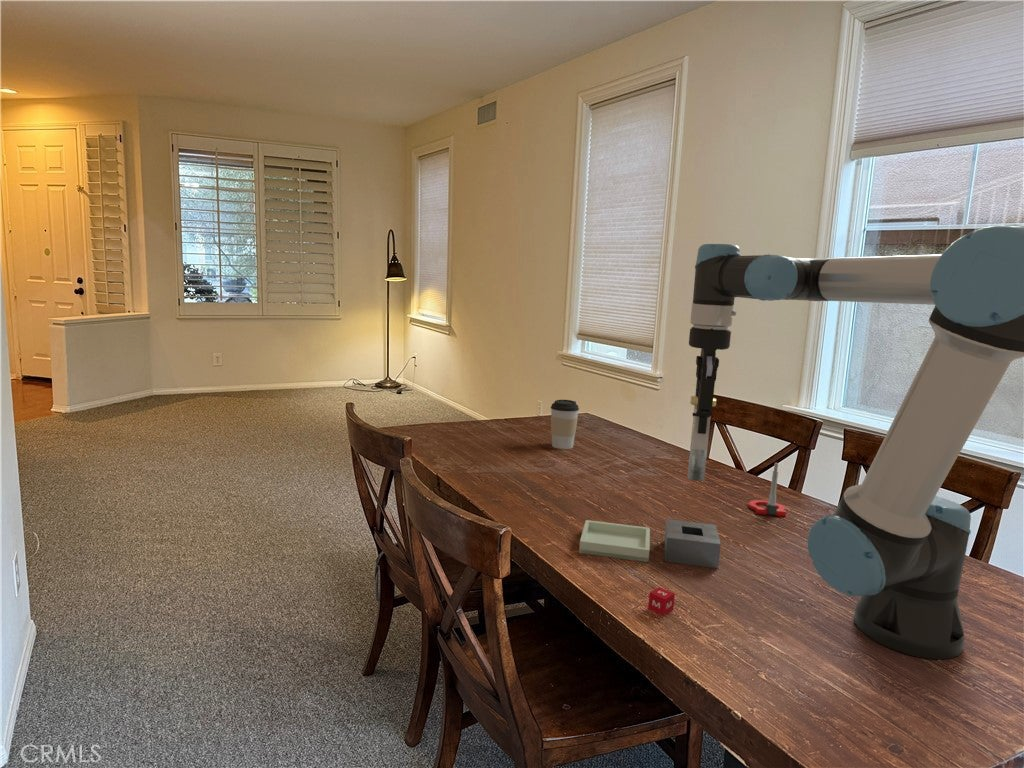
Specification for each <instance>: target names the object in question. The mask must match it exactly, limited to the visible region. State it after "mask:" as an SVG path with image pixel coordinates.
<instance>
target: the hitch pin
mask: <svg viewBox="0 0 1024 768" xmlns="http://www.w3.org/2000/svg"><path fill="white" fill-rule="evenodd" d="M690 405H692V406H693V407H694V408H693V413H696V412H697V405H698V396H695V395H692V396H690ZM716 406H717V398H715V397H713V404H712V408H715V407H716ZM710 418H712V415H711V416H710ZM694 425H695V416H693V415H692V427H691V437H690V447H689V448H690V449H689V458H688V459H689V460H688V468H687V469H688V470H687V478H688V480H690V481H695V482H696V481H697V482H702V481H704V480H705V476H706V475H705V474H706V465H707V455H708V449H707V450H700V449H692V445H693V435H694ZM709 428H710V425H709ZM709 435H710V434H709ZM709 435H708V438H709ZM708 445H709V444H708ZM708 445H707V448H708Z"/></svg>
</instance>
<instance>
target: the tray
mask: <svg viewBox="0 0 1024 768" xmlns="http://www.w3.org/2000/svg"><path fill="white" fill-rule="evenodd" d="M650 534H651V527H648V526H637V525H631V524H621V523H613V522H605V521H597V520H590V519H589V520H588V519H585V523H584V525H583V528H582V532H581V537H580V540H579V549H578V553H579V554H585V555H590V556H591V555H593V556H600V557H607V558H615V559H621V560H622V559H623V560H630V561H637V562H645V563H649V560H650V559H649V558H650V549H651V548H650V544H651V543H650V542H651V541H650V540H651V539H650V538H651V537H650V536H651V535H650Z"/></svg>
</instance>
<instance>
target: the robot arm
mask: <svg viewBox="0 0 1024 768" xmlns="http://www.w3.org/2000/svg"><path fill="white" fill-rule="evenodd" d="M694 269H695V272H694V281H693V282H694V285H693V292H692V293H693V297H692V304H691V312H690V321H689V322H690V324H691V325H693V326H692V327H691V328H689V336H688V345H689V347H691V348H696V349H700V355H696V358H695V359H696V360H695V365H696V372H695V377H696V383H695V395H694V396H698V405H697V412H696V413H694V412H692V417H693V416H695V425H694V435H693V445H692V449H700V450H707V451H708V447H707V445H709V437H708V435H710V427H709V425H710V424H711V417H712V415H713V407H712V404H713V398H714V396H715V395H714V393H715V387H716V386H715V385H716V384H715V383H716V381H717V376H718V375H717V374H718V368H719V366H720V359H719V357H717V355H716V352H717V351H718V350H721V351H724V350H728V349H729V348H730V345H731V338H732V337H731V335H732V331H731V329H729V327H731V326H732V324H733V316H736V315H737V311H736V310H734V305H735V298H741V299H742V298H744V299H750V300H759V301H763V302H765V301H781V300H783V301H784V300H787V301H788V300H789V301H790V300H791V301H810V302H850V303H851V302H852V303H879V304H880V303H881V304H905V305H909V304H910V305H930V306H931V305H932V306H933V305H935V306H934V307H933V310H932V312H931V314H930V316H929V318H928V322H929V325H930V327H931V328H932V330H933V332H934V338H933V341H932V342H931V344H930V347H929V348H928V351H927V353H926V355H925V356H924V358H923V361H922V362H921V363H920V366H919V368H918V371H917V372H916V374H915V375H914V376H915V377H914V378H913V381H912V382H911V385H910V386H909V388H908V391H907V392H906V394H905V396H904V399H903V400H902V403H901V404H900V407H899V408H898V410H897V413H896V415H895V416H894V419H893V421H892V422H891V424H890V426H889V428H888V431H887V433H886V434H885V437H884V438H883V440H882V443H881V444H880V446H879V448H878V450H877V452H876V455H874V456H875V457H874V458H873V460H872V463H871V465H870V466H869V469H868V471H867V472H866V475H865V476H864V479H863V480H862V483H861V484H856V485H851V486H849V487H847V488H846V489H845V491H844V492H843V494H842V497H841V499H840V501H839V502H838V505H837V506H836V509H835V510H834V512H833V514H829V515H823V516H822V517H821V518H819V519H818V520H816V521H815V522H814V523H813V524H812V525H811V527H810V529H809V531H808V535H807V550H808V555H809V557H810V558H811V560H812V565H813V567H814V569H815V571H816V572H817V574H818V575H819V577H820V578H822V580H823V582H825V583H826V584H827V585H828V586H830V587H831V588H832V589H834V590H835V591H837V592H838V593H841V594H843V595H845V596H848V597H849V596H851V597H859V600H857V603H856V605H855V609H854V610H855V611H854V616H853V619H854V624H855V625H856V626H857V628H858V629H859V630H860V631H861V632H862V633H864V634H865V635H866V636H867V637H868V638H870V639H871V640H874V641H875V642H877V643H879V644H881V646H882V645H883V646H884V647H887V648H889V649H892V650H894V651H897V652H899V653H903V654H906V655H910V656H912V657H913V656H914V657H918V658H923V659H931V660H948V659H952V658H957V657H958V656H959V655H961V654H962V653H963V648H964V644H965V631H964V625H963V622H962V617H961V616H962V615H961V612H960V607H959V603H958V598H959V591H960V585H961V580H962V574H963V569H964V563H965V558H966V553H967V549H968V548H967V547H968V542H969V537H970V535H971V532H972V530H971V529H970V528H971V520H972V517H971V513H970V510H968V508H966V507H964V505H962V504H960V503H957V502H955V501H952V500H950V499H948V498H947V499H946V498H944V497H940V496H937V494H938V492H939V490H940V489H941V487H942V485H943V483H944V482H945V480H946V478H947V477H948V475H949V473H950V471H951V469H952V468H953V465H954V464H955V462H956V460H957V458H958V457H959V455H960V454H961V451H962V450H963V448H964V446H965V444H966V442H967V441H968V439H969V437H970V436H971V434H972V432H973V430H974V429H975V427H976V425H977V423H978V422H979V420H980V418H981V416H982V414H983V413H984V411H985V410H986V408H987V405H988V403H989V402H990V401H991V398H992V397H993V395H994V393H995V391H996V389H997V388H998V386H999V385H1000V383H1001V380H1002V378H1003V377H1004V375H1005V373H1006V371H1008V368H1009V366H1010V364H1011V363H1012V362H1013V361H1015V360H1017V359H1021V358H1024V225H1021V224H1005V225H993V226H986V227H982V228H978V229H975V230H973V231H971V232H969V233H966V234H964V235H962V236H961V237H960V238H957V239H956V240H954V242H952V243H951V244H950V245H949V246H948V247H947V248H946V249H945V250H944V251H943V253H940V254H916V255H914V254H913V255H892V256H891V255H888V256H887V255H885V256H859V257H855V256H853V257H832V258H831V257H825V258H824V257H823V258H819V257H818V258H803V257H802V258H801V257H789V256H784V255H777V254H770V253H769V254H759V255H758V254H756V255H740V247H739V246H738V245H737V244H729V243H728V244H727V243H704V244H702V245H700V246H699V248H698V250H697V256H696V261H695V264H694ZM710 416H711V417H710Z"/></svg>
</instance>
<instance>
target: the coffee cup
mask: <svg viewBox="0 0 1024 768" xmlns="http://www.w3.org/2000/svg"><path fill="white" fill-rule="evenodd" d="M550 410H551V411H550V412H551V414H550V427H551V430H550V432H551V446H552V447H553V448H555V449H558V450H570V449H573V448H574V443H575V437H576V436H575V435H576V430H577V425H578V418H579V416H578V415H579V410H580V407H579V405H578V404H577V401H575V400H571V399H556V400H555V401H554V402H553V403H552V404H551V406H550Z"/></svg>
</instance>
